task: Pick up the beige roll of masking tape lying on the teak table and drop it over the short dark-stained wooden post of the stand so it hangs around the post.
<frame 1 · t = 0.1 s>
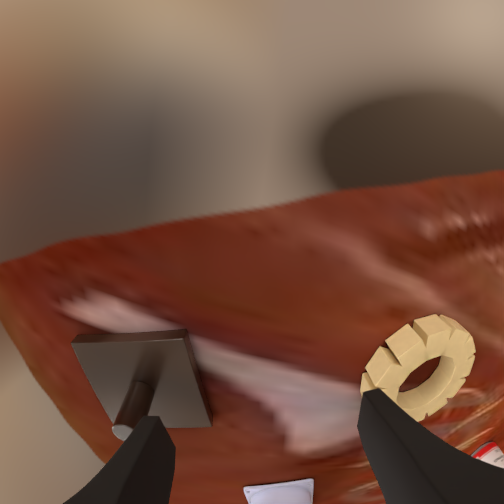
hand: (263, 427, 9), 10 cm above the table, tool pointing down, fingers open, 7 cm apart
stand: (145, 380, 21), on the table
beer can: (479, 450, 30), on the table
tape: (415, 367, 21), on the table
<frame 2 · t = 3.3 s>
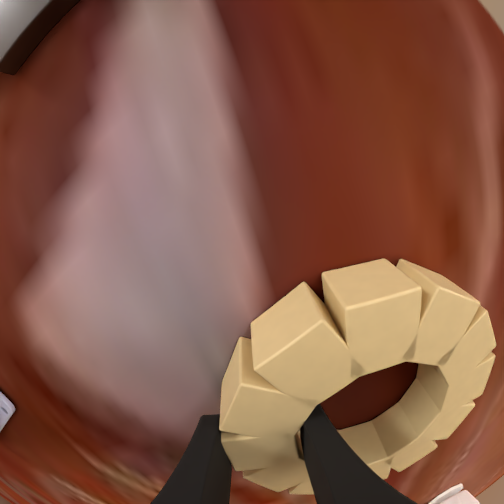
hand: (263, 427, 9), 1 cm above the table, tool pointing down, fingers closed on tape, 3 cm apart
tape: (357, 384, 10), on the table, touching gripper
cup: (441, 498, 18), on the table
when the fingers open (3 cm above the table, at t = 8.4 s): tape stays where it is, resting on stand.
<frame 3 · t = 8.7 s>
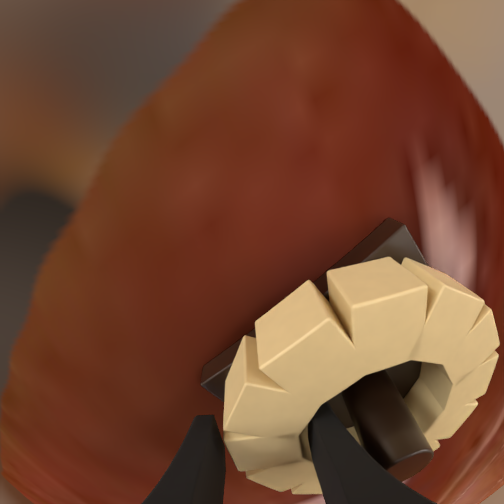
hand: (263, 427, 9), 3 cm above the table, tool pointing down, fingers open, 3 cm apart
stand: (355, 365, 12), on the table
tape: (361, 383, 10), point 1 cm above the table, touching stand
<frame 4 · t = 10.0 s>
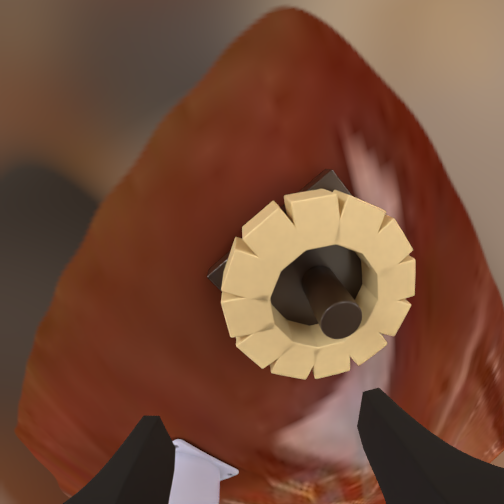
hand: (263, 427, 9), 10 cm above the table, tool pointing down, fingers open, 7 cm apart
stand: (313, 274, 18), on the table
tape: (316, 281, 17), point 1 cm above the table, touching stand
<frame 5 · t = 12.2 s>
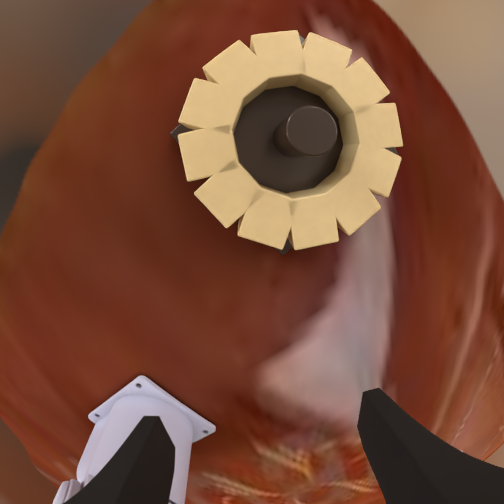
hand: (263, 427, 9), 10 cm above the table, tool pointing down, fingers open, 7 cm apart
stand: (288, 140, 16), on the table
tape: (289, 138, 15), point 1 cm above the table, touching stand
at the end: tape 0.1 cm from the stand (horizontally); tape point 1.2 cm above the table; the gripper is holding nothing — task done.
